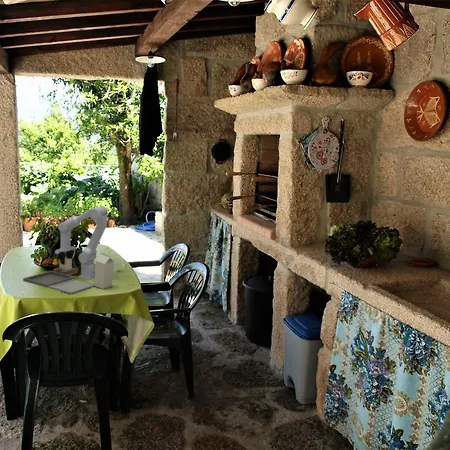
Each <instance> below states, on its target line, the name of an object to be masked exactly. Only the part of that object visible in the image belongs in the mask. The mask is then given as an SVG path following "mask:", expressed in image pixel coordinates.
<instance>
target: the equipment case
mask: <svg viewBox="0 0 450 450" xmlns="http://www.w3.org/2000/svg"><path fill="white" fill-rule="evenodd" d="M22 280H23V282H26V283H28V284H29V283H30V284H34V285H37V286H40V287H44V288H49V289H52V290H54V291H55V290H56V291H61V292H60V293H63V292H64V293H63V294H66V293H68V294H67V295H70V294H72V295H75V294H78V293H81V292H83V290H84V291H87V290H90V289H92V287H93V288H95V287H97V286H94V283H91V282H87V281H85V280H84V281H83V280H79V279H76V277H75V276H73V275H65V274H61V273H57V272H54V270H49V271H46V272H42V273H38V274H34V275H31V276H26V277H24V278H23V279H22ZM89 288H90V289H89ZM86 289H87V290H86ZM80 291H81V292H80ZM77 292H78V293H77ZM74 293H75V294H74Z"/></svg>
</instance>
